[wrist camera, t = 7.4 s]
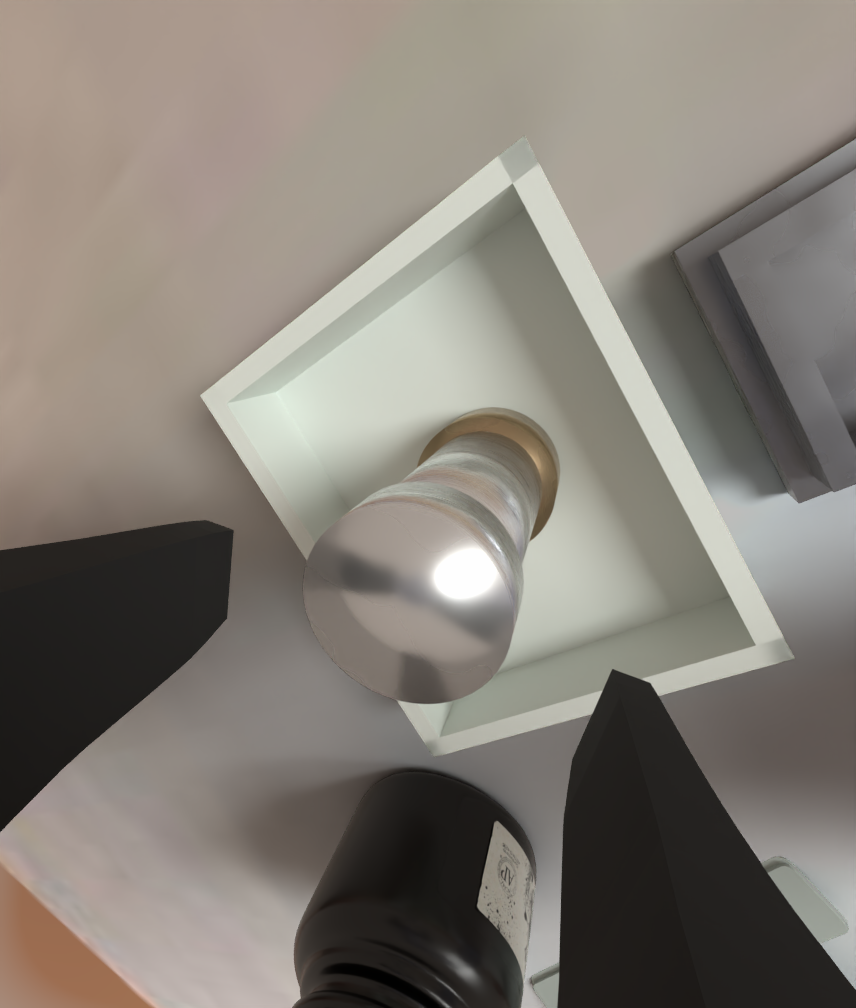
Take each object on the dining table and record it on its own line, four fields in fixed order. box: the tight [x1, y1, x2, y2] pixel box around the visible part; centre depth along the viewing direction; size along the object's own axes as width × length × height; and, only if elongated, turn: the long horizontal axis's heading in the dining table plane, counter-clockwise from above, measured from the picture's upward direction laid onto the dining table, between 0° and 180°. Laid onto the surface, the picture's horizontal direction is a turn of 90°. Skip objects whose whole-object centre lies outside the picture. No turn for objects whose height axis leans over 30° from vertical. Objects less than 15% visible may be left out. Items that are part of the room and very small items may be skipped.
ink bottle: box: [292, 772, 536, 1008], centre depth 20 cm, size 10×9×12 cm
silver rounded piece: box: [303, 407, 560, 704], centre depth 14 cm, size 4×4×10 cm
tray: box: [200, 135, 795, 757], centre depth 17 cm, size 15×12×4 cm
